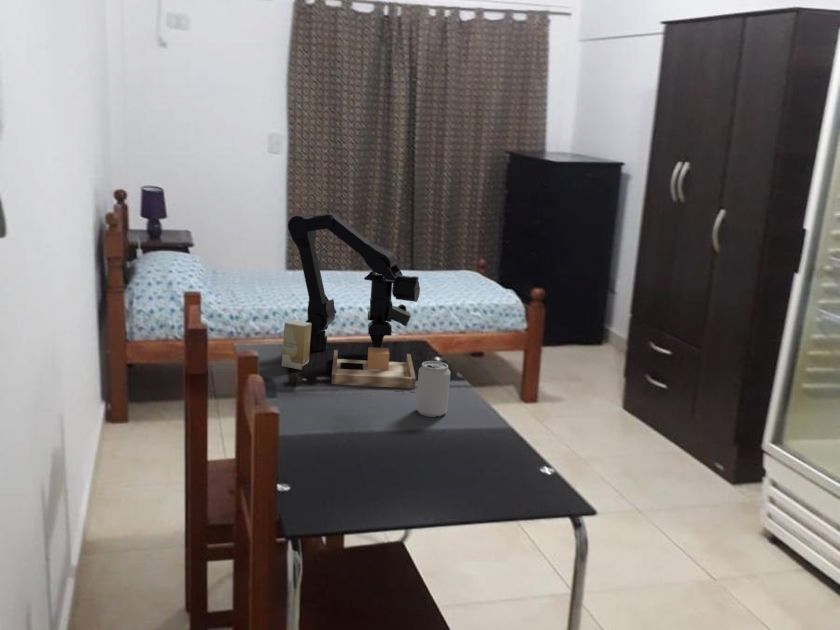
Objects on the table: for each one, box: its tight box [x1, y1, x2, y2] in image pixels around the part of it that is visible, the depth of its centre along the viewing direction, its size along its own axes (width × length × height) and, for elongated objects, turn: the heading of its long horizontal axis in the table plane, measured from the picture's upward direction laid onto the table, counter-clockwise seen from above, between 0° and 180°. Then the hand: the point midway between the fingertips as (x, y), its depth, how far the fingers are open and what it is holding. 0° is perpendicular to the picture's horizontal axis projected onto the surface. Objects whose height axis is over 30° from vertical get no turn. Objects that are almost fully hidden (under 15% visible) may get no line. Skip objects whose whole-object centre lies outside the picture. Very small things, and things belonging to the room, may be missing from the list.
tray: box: [330, 349, 417, 393], centre depth 225 cm, size 21×22×4 cm
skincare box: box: [281, 319, 312, 371], centre depth 228 cm, size 6×4×12 cm
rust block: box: [367, 346, 390, 370], centre depth 231 cm, size 6×6×4 cm
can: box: [415, 360, 451, 418], centre depth 201 cm, size 8×8×12 cm
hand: (377, 351), depth 239 cm, fingers closed
